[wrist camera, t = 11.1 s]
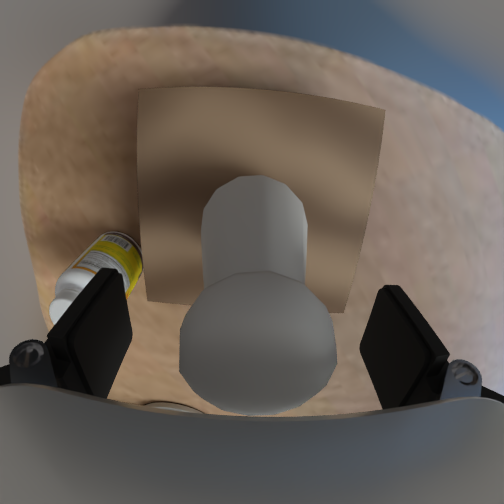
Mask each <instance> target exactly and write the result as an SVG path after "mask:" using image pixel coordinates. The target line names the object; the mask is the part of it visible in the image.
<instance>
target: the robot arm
mask: <svg viewBox="0 0 504 504" xmlns="http://www.w3.org/2000/svg"><path fill="white" fill-rule="evenodd" d="M47 337H48V339H47V340H46V342H45V343H43V342H42V341H39V340H33V339H31V340H26V341H23V342H21V343H19V344H18V345H17V346H15V347H14V349H13V350H12V352H11V353H10V356H9V365H6V366H3V367H0V504H504V396H503V395H501V394H498V393H496V392H494V391H492V390H490V389H488V388H486V387H483V386H482V376H481V374H480V371H479V370H478V369H477V367H475V366H474V365H473V364H472V363H470V362H468V361H465V360H462V359H456V360H453V361H452V362H450V363H449V362H448V361H447V359H448V357H449V355H450V354H449V352H448V351H447V349H446V348H445V346H444V345H443V343H442V342H441V340H440V339H439V338H438V336H437V335H436V333H435V332H434V331H433V329H432V328H431V326H430V325H429V324H428V322H427V321H426V320H425V318H424V317H423V316H422V314H421V313H420V312H419V310H418V309H417V308H416V306H415V305H414V304H413V302H412V301H411V300H410V298H409V297H408V296H407V295H406V293H405V292H404V291H403V290H402V288H401V287H400V286H399V285H384V286H383V288H382V289H379V291H378V293H377V296H376V300H375V303H374V306H373V309H372V312H371V315H370V318H369V321H368V323H367V326H366V329H365V332H364V335H363V337H362V340H361V343H360V353H361V356H362V358H363V360H364V363H365V365H366V368H367V370H368V373H369V375H370V378H371V380H372V383H373V385H374V388H375V390H376V393H377V396H378V398H379V401H380V403H381V406H382V409H383V410H375V411H368V412H359V413H349V414H338V415H323V416H303V417H248V416H227V415H213V414H204V413H202V412H200V411H198V410H196V409H193V408H190V407H187V406H183V405H179V404H174V403H165V402H158V403H150V404H147V405H144V406H142V405H136V404H131V403H125V402H120V401H115V400H110V399H107V396H108V394H109V392H110V389H111V387H112V384H113V382H114V379H115V377H116V375H117V372H118V370H119V368H120V365H121V363H122V361H123V359H124V356H125V354H126V352H127V350H128V347H129V345H130V343H131V340H132V327H131V322H130V317H129V311H128V306H127V300H126V294H125V287H124V281H123V275H122V274H121V273H119V272H118V270H117V269H115V268H104V267H102V268H101V269H100V270H99V271H98V272H97V273H96V274H95V276H94V277H93V278H92V279H91V280H90V281H89V283H88V284H87V285H86V286H85V287H84V289H83V290H82V291H81V292H80V293H79V295H78V296H77V297H76V298H75V300H74V301H73V302H72V303H71V305H70V306H69V307H68V308H67V310H66V311H65V312H64V313H63V315H62V316H61V317H60V319H59V320H58V321H57V323H56V324H55V325H54V326H53V328H52V329H51V330H50V332H49V333H48V335H47Z"/></svg>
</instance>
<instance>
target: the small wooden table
mask: <svg viewBox="0 0 504 504" xmlns="http://www.w3.org/2000/svg"><path fill="white" fill-rule="evenodd" d="M384 118H385V110H384V109H380V108H375V107H371V106H367V105H362V104H358V103H353V102H348V101H343V100H338V99H332V98H326V97H320V96H314V95H307V94H300V93H292V92H284V91H274V90H263V89H250V88H232V87H165V88H148V89H139V92H138V114H137V186H138V208H139V224H140V237H141V249H142V259H143V268H144V277H145V285H146V293H147V300H148V301H153V302H162V303H172V304H182V305H193V303H194V302H195V301H196V299H197V298H198V296H199V295H200V293H201V292H202V291H203V290H204V281H203V265H202V246H201V226H202V217H203V209H204V208H205V206H206V205H207V203H208V201H209V200H210V198H211V197H212V195H213V194H214V192H215V191H216V189H218V188H220V187H221V186H223V185H225V184H227V183H228V182H230V181H232V180H234V179H235V178H237V177H240V176H254V175H264V176H267V177H269V178H272V179H274V180H276V181H279V182H281V183H284V184H286V185H287V186H288V187H289V188H290V190H291V191H292V192H293V193H294V194H295V195H296V196H297V197H298V199H299V200H300V201H301V202H302V203H303V207H304V212H305V216H306V220H307V224H308V228H307V255H306V275H305V286H306V287H307V288H308V289H309V290H310V291H311V292H312V293H313V294H314V295H315V296H316V297H317V298H318V299H319V300H320V301H321V302H322V303H323V304H324V305H325V306H326V308H327V310H328V312H329V313H344V310H345V306H346V303H347V300H348V296H349V293H350V289H351V285H352V282H353V278H354V274H355V271H356V267H357V263H358V259H359V255H360V251H361V247H362V243H363V238H364V234H365V230H366V225H367V220H368V216H369V211H370V206H371V201H372V196H373V191H374V185H375V180H376V174H377V168H378V162H379V155H380V149H381V142H382V134H383V126H384Z"/></svg>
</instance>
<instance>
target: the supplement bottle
mask: <svg viewBox="0 0 504 504" xmlns="http://www.w3.org/2000/svg"><path fill="white" fill-rule="evenodd" d="M102 267H104V268H115V269H117V270H118V272H119V273H121V274H122V275H123V281H124V287H125V294H126V300H127V298H128V296H129V295H130V293H131V291H132V289H133V288H134V286H135V284H136V282H137V281H138V279H139V277H140V276H141V274H142V271H143V259H142V251H141V249H140V247H139V246H138V244H137V243H136V242H135V241H134V240H133V239H132V238H131V237H129V236H128V235H126V234H124V233H120V232H107V233H104V234H102V235H101V236H100V237H98V238H97V239H96V240H95V241H94V242H93V243H92V244H91V245H90V246H89V247H88V248H87V249H86V250H85V251H84V252H83V253H82V254H81V255H80V256H79V257H78V258H77V259H76V260H75V261H74V262H73V263H72V264H71V265H70V266H69V267H68V268H67V269H66V270H65V271H64V272H63V273H62V275H61V276H60V277H59V279H58V280H57V283H56V287H55V295H56V297H55V299H54V300H53V301H52V302H51V304H50V308H49V313H50V317H51V320H52V322H53V324H54V325H55V324H56V323H57V321H58V320H59V319H60V317H61V316H62V315H63V313H64V312H65V311H66V310H67V308H68V307H69V306H70V305H71V303H72V302H73V301H74V300H75V298H76V297H77V296H78V295H79V293H80V292H81V291H82V290H83V289H84V287H85V286H86V285H87V284H88V283H89V281H90V280H91V279H92V278H93V277H94V276H95V274H96V273H97V272H98V271H99V270H100V269H101V268H102Z"/></svg>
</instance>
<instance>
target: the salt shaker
mask: <svg viewBox="0 0 504 504" xmlns="http://www.w3.org/2000/svg"><path fill="white" fill-rule="evenodd" d="M307 228H308V224H307V220H306V216H305V212H304V207H303V203H302V202H301V201H300V200H299V199H298V197H297V196H296V195H295V194H294V193H293V192H292V191H291V190H290V188H289V187H288V186H287V185H286V184H284V183H281V182H279V181H276V180H274V179H272V178H269V177H267V176H264V175H254V176H240V177H237V178H235V179H234V180H232V181H230V182H228V183H227V184H225V185H223V186H221V187H220V188H218V189H216V191H215V192H214V194H213V195H212V197H211V198H210V200H209V201H208V203H207V205H206V206H205V208H204V209H203V217H202V226H201V246H202V265H203V281H204V290H203V291H202V292H201V293H200V295H199V296H198V298H197V299H196V301H195V302H194V303H193V305H192V306H191V308H190V309H189V311H188V312H187V314H186V315H185V318H184V320H183V323H182V326H181V328H180V357H179V372H180V373H181V374H182V376H183V377H184V379H185V380H186V381H187V383H188V384H189V386H190V387H191V388H192V390H193V391H194V392H195V393H196V394H198V395H199V396H200V397H201V398H203V399H204V400H206V401H208V402H209V403H211V404H213V405H214V406H216V407H218V408H220V409H221V410H224V411H228V412H233V413H238V414H242V415H248V416H252V415H275V414H278V413H281V412H284V411H287V410H290V409H293V408H296V407H299V406H301V405H302V404H303V403H305V402H306V401H308V400H309V399H310V398H312V397H313V396H314V395H316V394H317V393H318V392H320V391H321V390H322V389H323V388H324V387H325V386H326V385H327V383H328V381H329V379H330V377H331V375H332V373H333V371H334V369H335V367H336V365H337V352H336V342H335V335H334V329H333V322H332V319H331V317H330V314H329V312H328V310H327V308H326V306H325V305H324V304H323V303H322V302H321V301H320V300H319V299H318V298H317V297H316V296H315V295H314V294H313V293H312V292H311V291H310V290H309V289H308V288H307V287H306V286H305V275H306V255H307Z"/></svg>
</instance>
